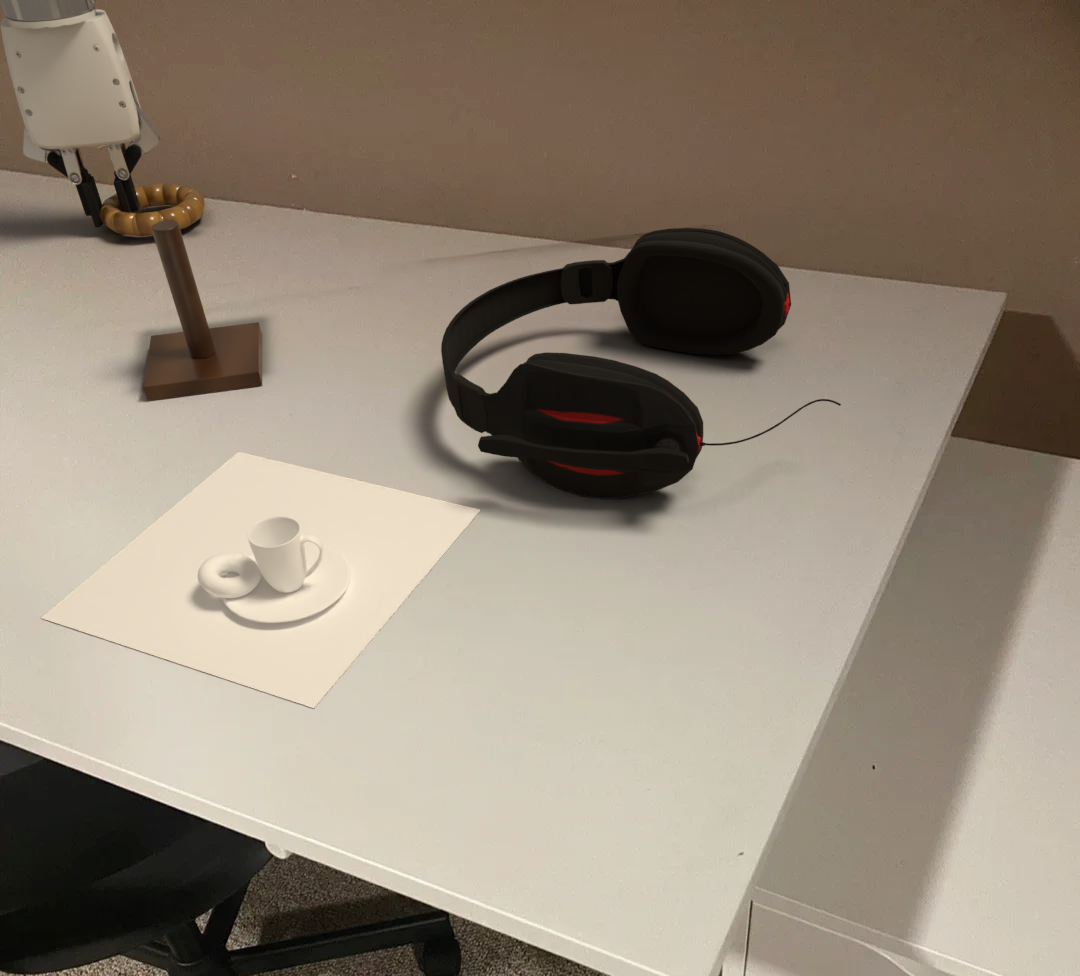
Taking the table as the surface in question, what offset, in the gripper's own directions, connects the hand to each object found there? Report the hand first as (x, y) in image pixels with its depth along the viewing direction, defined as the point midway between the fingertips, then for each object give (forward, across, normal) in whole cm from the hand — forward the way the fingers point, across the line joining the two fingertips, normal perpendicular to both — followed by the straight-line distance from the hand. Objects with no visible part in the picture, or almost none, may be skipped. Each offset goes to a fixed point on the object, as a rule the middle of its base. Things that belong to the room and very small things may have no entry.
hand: (115, 219), depth 101 cm
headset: (+2, -42, +47) cm, 63 cm away
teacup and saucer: (+2, -14, +58) cm, 60 cm away
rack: (+2, -10, +30) cm, 31 cm away
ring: (-1, -4, 0) cm, 4 cm away
